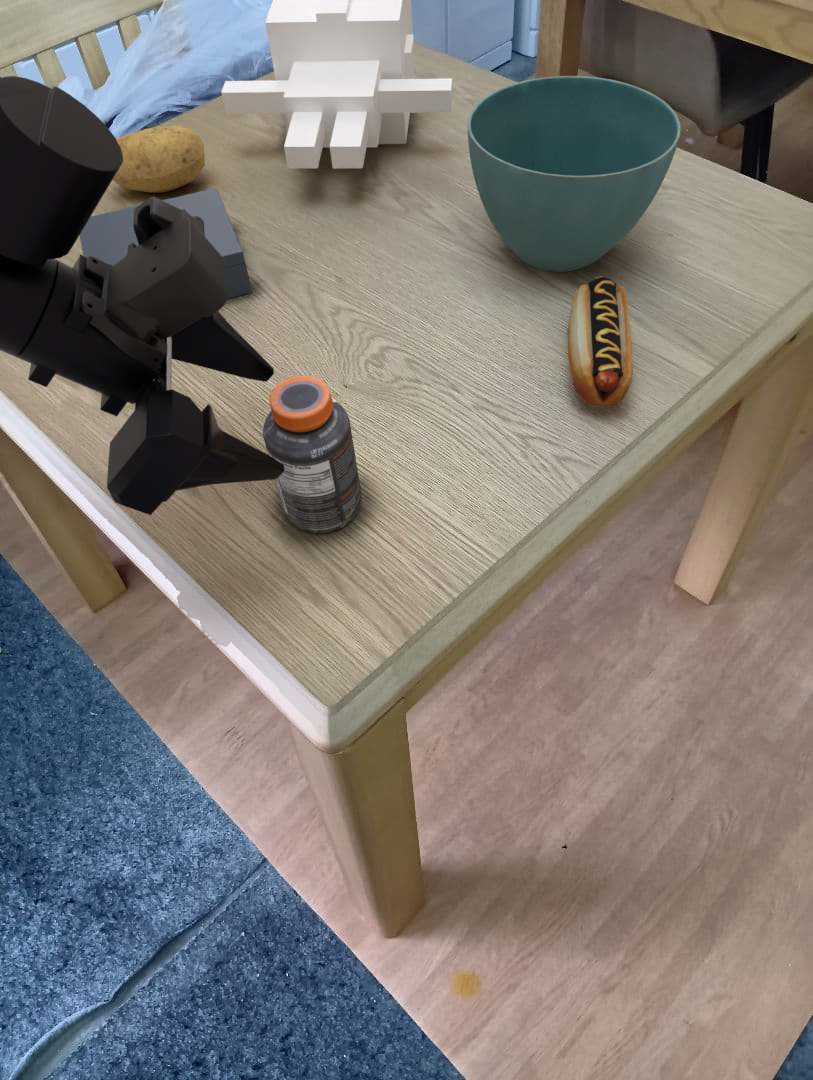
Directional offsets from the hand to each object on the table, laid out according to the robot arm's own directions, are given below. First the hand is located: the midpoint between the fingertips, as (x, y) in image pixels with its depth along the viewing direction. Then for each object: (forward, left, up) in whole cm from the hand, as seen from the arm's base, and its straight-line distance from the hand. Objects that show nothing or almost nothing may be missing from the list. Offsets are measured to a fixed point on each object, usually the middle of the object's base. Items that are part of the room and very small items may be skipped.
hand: (275, 421), depth 52 cm
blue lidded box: (-4, +34, -9) cm, 35 cm away
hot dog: (+28, +6, -9) cm, 30 cm away
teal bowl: (+33, +23, -9) cm, 41 cm away
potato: (-2, +51, -9) cm, 52 cm away
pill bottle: (+2, 0, -9) cm, 10 cm away
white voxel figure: (+20, +52, -9) cm, 56 cm away
